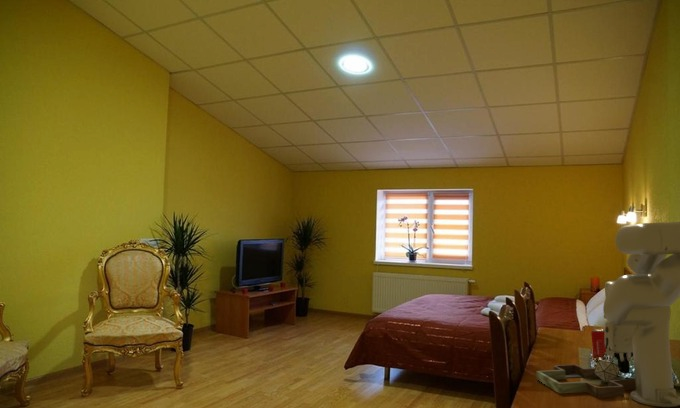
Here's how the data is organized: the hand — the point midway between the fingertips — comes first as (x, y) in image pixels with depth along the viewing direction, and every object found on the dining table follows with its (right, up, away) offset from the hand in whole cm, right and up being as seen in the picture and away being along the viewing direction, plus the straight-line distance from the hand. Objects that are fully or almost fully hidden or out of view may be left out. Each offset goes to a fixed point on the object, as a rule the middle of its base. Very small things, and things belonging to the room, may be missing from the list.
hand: (624, 372), depth 158 cm
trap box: (-12, -4, -1) cm, 13 cm away
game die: (-6, -4, -1) cm, 7 cm away
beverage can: (+7, -6, +27) cm, 28 cm away
